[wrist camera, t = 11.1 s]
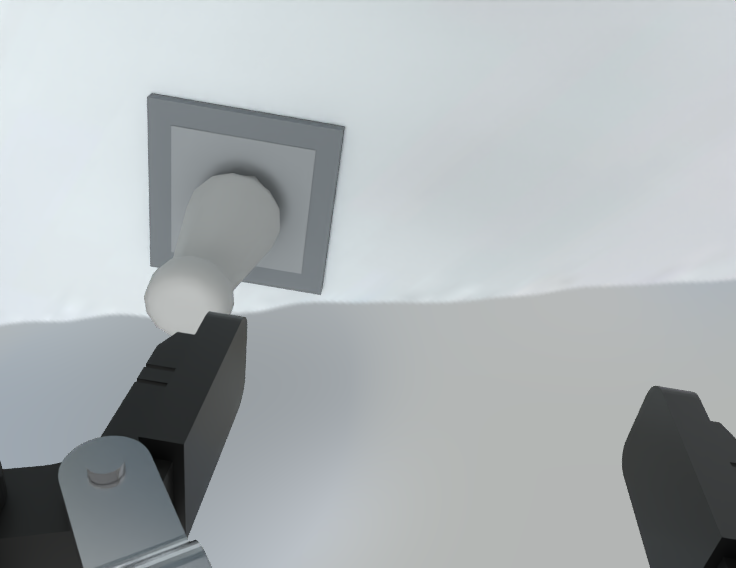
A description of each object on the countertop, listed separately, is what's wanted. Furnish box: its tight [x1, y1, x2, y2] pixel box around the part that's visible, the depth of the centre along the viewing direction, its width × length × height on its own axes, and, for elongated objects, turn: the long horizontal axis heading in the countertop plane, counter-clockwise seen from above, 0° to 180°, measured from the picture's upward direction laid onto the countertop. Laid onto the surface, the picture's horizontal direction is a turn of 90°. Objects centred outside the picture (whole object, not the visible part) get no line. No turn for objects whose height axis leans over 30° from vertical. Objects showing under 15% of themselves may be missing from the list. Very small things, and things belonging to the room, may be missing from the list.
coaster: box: [147, 94, 344, 295], centre depth 45 cm, size 12×12×1 cm
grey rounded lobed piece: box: [144, 173, 280, 336], centre depth 39 cm, size 6×6×13 cm
